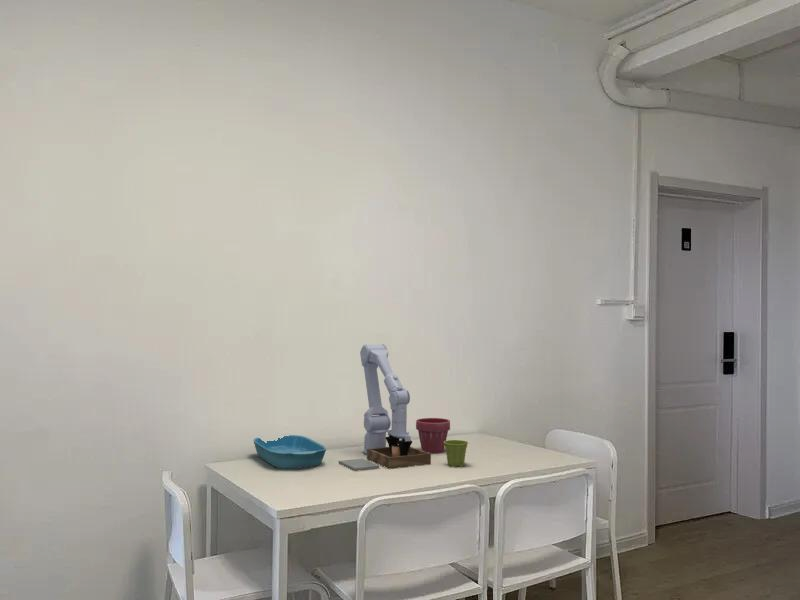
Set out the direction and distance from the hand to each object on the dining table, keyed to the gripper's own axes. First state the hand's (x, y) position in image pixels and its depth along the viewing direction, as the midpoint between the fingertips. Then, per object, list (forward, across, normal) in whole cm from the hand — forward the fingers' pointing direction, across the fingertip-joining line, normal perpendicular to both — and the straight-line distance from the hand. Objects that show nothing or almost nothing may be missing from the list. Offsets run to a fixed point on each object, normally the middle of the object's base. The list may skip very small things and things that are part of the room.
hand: (398, 457), depth 279 cm
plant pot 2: (+2, -14, -17) cm, 22 cm away
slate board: (+2, 0, +17) cm, 17 cm away
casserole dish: (+2, +20, +37) cm, 42 cm away
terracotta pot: (+2, 0, 0) cm, 2 cm away
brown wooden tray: (+2, 0, 0) cm, 2 cm away
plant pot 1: (+2, +12, -23) cm, 26 cm away
